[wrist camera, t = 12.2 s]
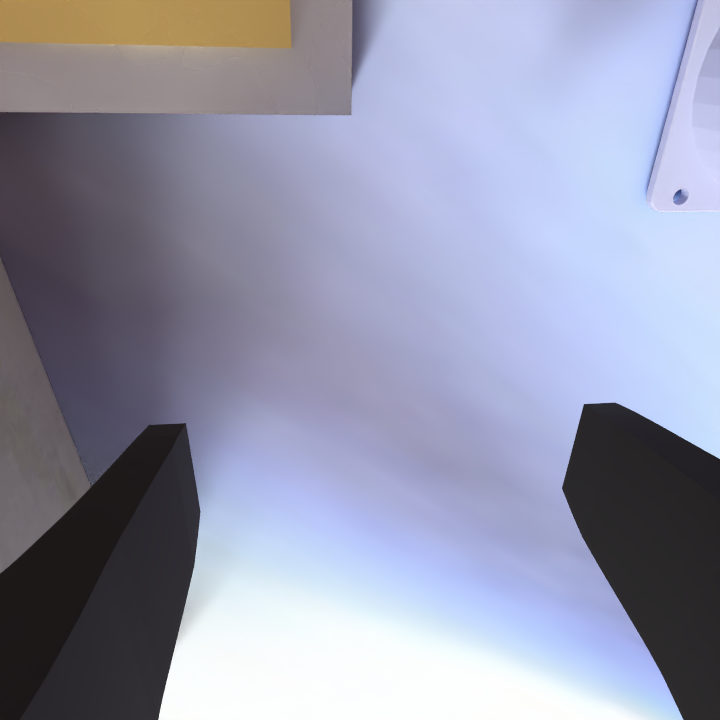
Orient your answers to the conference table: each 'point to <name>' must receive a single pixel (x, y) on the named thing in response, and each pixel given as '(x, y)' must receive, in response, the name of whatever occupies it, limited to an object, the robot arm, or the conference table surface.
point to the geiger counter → (30, 439)
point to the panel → (176, 56)
